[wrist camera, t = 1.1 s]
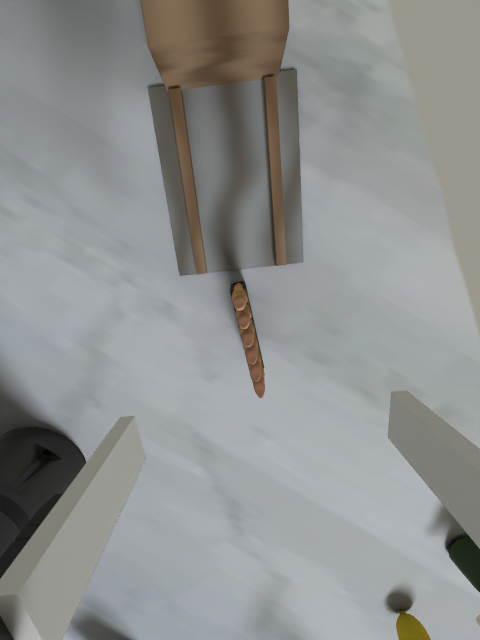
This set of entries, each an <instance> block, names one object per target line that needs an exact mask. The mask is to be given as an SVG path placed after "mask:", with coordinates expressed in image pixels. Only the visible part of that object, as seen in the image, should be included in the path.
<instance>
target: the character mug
mask: <svg viewBox="0 0 480 640" xmlns="http://www.w3.org/2000/svg"><path fill="white" fill-rule="evenodd" d="M449 557H450V558H451V560H452V561H453V562H454V563H455V565H456V566H457V567H458V568H459V569H460V571H461V572H462V573H463V574H464V575H465V576H466V578H467V579H468V580H469V581H470V582H471V584H472V585H473V586H474V587H475V588H476V589H477V590H478V591H479V592H480V549H479V547H478V546H477V545H476V544H475V542H474V541H473V540H472V539H471V538H462V539H459V540H457V541H456V542H455V543H454V544H453V545H452V546H451V548H450V551H449ZM476 619H477V622H478V624H479V625H480V615H479V616H477V618H476Z"/></svg>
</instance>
